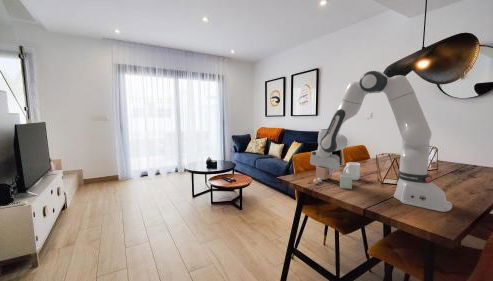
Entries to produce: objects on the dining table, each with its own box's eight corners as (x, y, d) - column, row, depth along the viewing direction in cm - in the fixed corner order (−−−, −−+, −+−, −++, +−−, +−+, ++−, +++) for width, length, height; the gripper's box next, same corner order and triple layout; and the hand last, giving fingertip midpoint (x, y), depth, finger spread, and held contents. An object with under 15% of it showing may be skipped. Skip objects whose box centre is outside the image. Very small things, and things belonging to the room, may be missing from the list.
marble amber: (319, 183, 135) (319, 179, 135) (316, 184, 133) (316, 180, 133) (315, 182, 138) (315, 178, 137) (312, 183, 136) (312, 178, 135)
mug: (348, 181, 138) (348, 166, 137) (338, 178, 146) (339, 163, 145) (362, 179, 142) (363, 164, 141) (352, 176, 150) (353, 161, 149)
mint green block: (350, 184, 134) (351, 173, 133) (351, 189, 125) (352, 177, 124) (339, 183, 136) (340, 172, 135) (340, 187, 127) (340, 176, 127)
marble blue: (322, 182, 138) (322, 177, 137) (320, 183, 136) (320, 178, 135) (318, 181, 140) (318, 176, 140) (315, 182, 138) (316, 177, 138)
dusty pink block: (331, 177, 144) (332, 166, 144) (324, 179, 139) (324, 169, 138) (323, 175, 149) (324, 165, 148) (315, 177, 144) (316, 167, 143)
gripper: (342, 154, 136) (341, 176, 138) (314, 150, 152) (313, 169, 154) (336, 156, 132) (336, 177, 134) (308, 151, 148) (308, 171, 150)
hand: (324, 173), depth 144 cm, fingers closed on dusty pink block, 6 cm apart
